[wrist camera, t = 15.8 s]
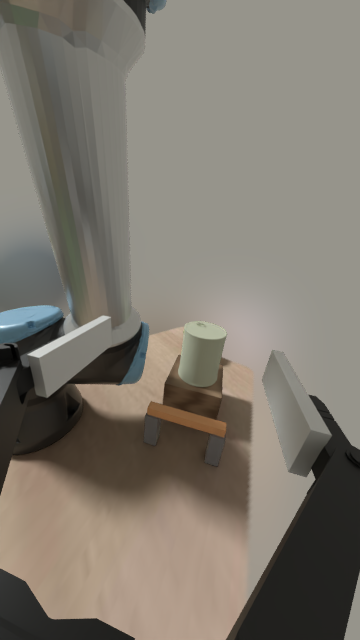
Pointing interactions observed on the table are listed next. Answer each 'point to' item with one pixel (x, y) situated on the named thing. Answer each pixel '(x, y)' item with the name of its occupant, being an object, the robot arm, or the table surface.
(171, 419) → the terracotta bar
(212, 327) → the can
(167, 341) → the table surface
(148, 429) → the hurdle posts
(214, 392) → the walnut stand
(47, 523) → the table surface
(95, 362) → the robot arm
